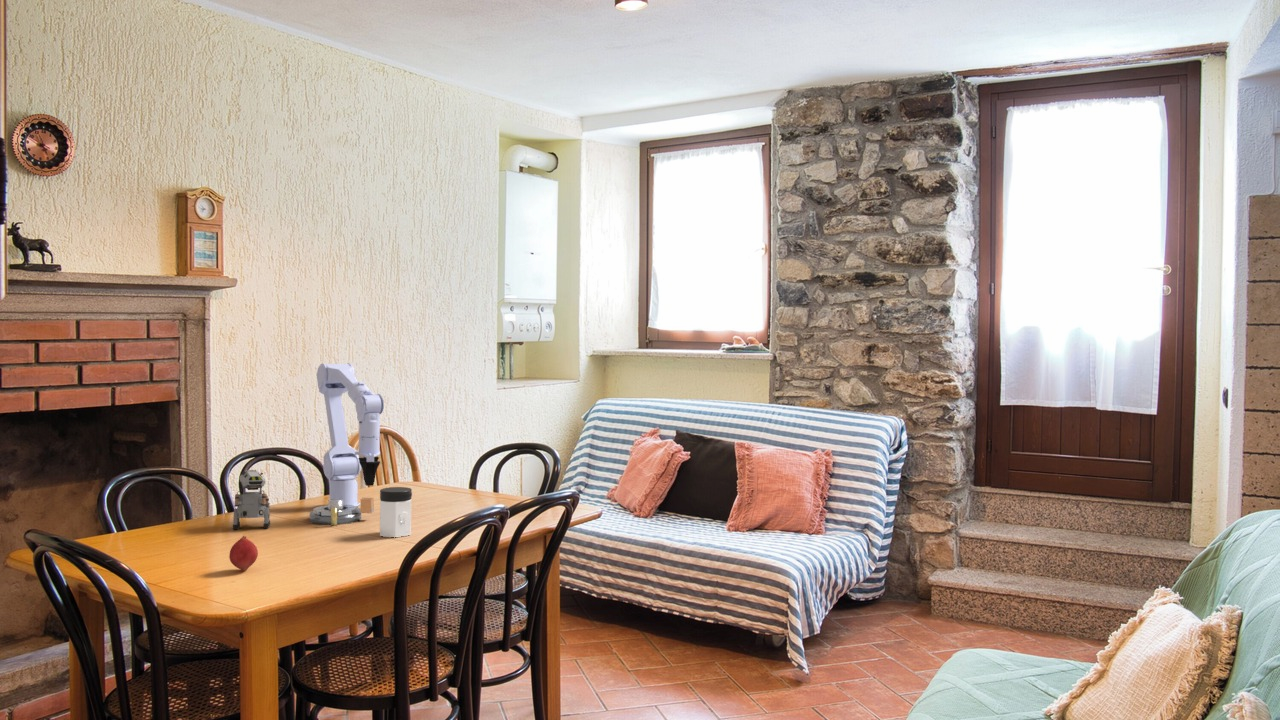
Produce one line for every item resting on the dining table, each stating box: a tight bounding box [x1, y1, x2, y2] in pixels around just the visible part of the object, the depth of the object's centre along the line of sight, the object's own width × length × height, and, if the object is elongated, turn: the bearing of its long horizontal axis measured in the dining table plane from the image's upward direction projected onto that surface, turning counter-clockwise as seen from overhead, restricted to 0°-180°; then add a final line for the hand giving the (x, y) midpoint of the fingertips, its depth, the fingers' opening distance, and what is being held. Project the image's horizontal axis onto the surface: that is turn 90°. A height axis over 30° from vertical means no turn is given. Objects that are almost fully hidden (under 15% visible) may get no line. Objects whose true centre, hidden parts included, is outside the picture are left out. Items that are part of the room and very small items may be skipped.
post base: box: [308, 499, 362, 525], centre depth 259 cm, size 14×14×6 cm
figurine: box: [232, 469, 271, 531], centre depth 248 cm, size 9×12×15 cm
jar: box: [379, 486, 413, 539], centre depth 242 cm, size 9×8×12 cm
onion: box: [228, 534, 259, 572], centre depth 203 cm, size 6×6×8 cm
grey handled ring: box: [312, 497, 375, 516], centre depth 259 cm, size 16×12×4 cm
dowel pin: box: [330, 508, 338, 527], centre depth 251 cm, size 2×2×5 cm
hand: (368, 483), depth 262 cm, fingers open, 5 cm apart
